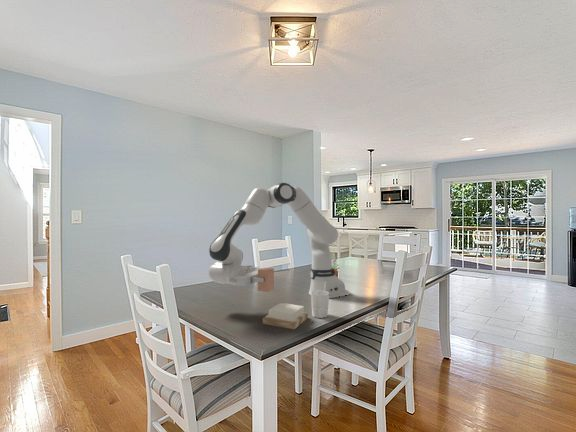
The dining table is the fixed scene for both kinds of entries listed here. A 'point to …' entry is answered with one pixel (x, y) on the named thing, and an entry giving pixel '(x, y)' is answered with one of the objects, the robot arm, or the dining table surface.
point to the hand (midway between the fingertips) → (267, 278)
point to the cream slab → (286, 312)
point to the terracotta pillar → (266, 279)
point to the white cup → (320, 303)
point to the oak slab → (285, 323)
